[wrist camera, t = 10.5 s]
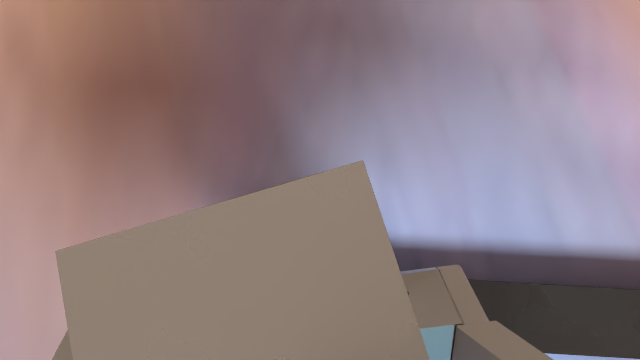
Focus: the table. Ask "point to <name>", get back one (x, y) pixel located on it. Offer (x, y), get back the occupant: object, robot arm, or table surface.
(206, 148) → the table surface
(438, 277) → the robot arm
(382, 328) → the tan wooden block
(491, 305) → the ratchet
